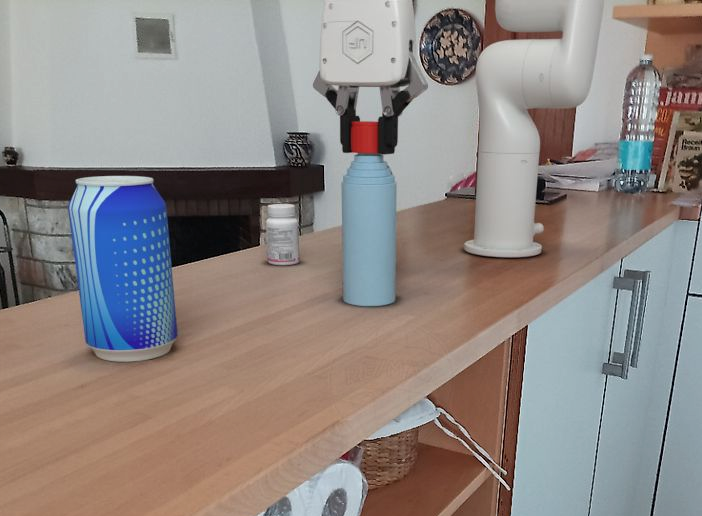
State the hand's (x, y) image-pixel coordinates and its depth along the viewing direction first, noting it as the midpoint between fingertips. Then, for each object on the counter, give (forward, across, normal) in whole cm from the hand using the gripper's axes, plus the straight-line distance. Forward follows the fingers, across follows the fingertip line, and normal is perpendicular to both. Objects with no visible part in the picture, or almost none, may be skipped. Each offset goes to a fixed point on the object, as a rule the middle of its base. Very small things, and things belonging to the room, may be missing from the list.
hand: (368, 151), depth 89 cm
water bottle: (+17, 0, 0) cm, 17 cm away
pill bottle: (+17, -22, +16) cm, 32 cm away
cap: (0, 0, 0) cm, 0 cm away
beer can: (+18, -11, -29) cm, 36 cm away
